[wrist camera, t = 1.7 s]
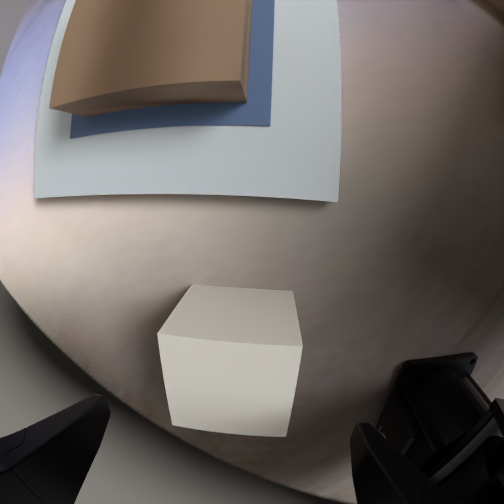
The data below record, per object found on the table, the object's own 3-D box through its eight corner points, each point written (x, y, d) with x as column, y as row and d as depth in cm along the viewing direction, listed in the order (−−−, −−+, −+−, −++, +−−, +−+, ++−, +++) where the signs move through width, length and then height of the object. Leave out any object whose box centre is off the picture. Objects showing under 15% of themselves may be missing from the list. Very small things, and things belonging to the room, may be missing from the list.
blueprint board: (326, -50, 9) (335, -90, 5) (332, 200, 13) (358, 209, 9) (84, -20, 9) (55, -43, 5) (44, 196, 13) (-3, 205, 10)
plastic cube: (292, 290, 14) (302, 346, 9) (283, 370, 15) (285, 436, 10) (192, 283, 14) (157, 333, 9) (196, 363, 15) (172, 425, 11)
